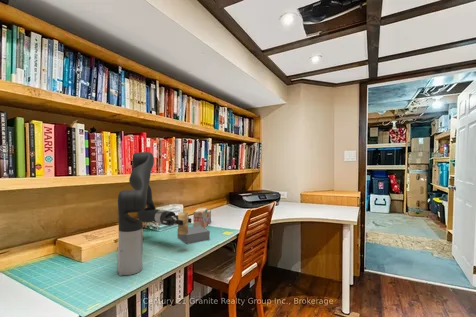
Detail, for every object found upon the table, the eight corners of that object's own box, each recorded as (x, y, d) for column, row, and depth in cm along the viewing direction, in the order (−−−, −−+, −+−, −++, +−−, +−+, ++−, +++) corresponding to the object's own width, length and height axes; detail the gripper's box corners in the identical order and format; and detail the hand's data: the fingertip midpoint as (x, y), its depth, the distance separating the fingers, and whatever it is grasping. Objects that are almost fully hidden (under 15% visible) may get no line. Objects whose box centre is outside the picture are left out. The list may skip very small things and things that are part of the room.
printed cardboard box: (202, 222, 183) (203, 205, 183) (211, 222, 182) (211, 205, 182) (193, 230, 161) (193, 211, 161) (202, 230, 160) (202, 211, 160)
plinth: (186, 244, 134) (186, 235, 134) (177, 237, 146) (177, 229, 146) (209, 239, 142) (209, 230, 142) (199, 233, 154) (199, 225, 154)
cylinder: (180, 235, 122) (180, 214, 122) (176, 232, 126) (176, 213, 126) (189, 233, 125) (189, 213, 125) (185, 231, 129) (186, 212, 129)
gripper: (154, 212, 128) (175, 216, 118) (175, 208, 140) (197, 212, 130) (153, 227, 128) (175, 232, 118) (175, 222, 139) (197, 226, 130)
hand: (186, 221), depth 124 cm, fingers closed on cylinder, 5 cm apart
